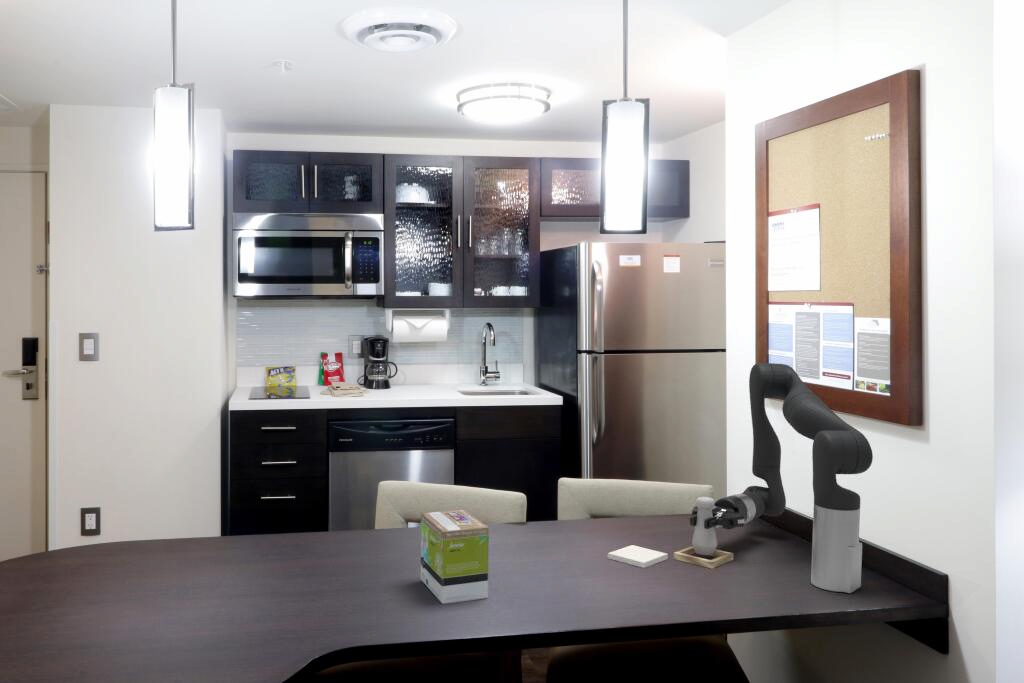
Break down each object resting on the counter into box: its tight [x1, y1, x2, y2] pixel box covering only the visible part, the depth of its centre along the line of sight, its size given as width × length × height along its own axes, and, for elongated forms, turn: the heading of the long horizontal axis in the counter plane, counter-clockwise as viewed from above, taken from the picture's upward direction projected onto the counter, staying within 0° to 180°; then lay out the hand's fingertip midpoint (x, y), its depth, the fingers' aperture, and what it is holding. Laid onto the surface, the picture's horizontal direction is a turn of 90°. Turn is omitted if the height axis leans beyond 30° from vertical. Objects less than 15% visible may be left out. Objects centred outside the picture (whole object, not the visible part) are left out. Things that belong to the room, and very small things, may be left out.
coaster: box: [607, 544, 669, 569], centre depth 191 cm, size 10×10×1 cm
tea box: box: [420, 509, 490, 605], centre depth 166 cm, size 15×10×15 cm, turn 23°
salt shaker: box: [691, 496, 718, 556], centre depth 191 cm, size 6×6×13 cm
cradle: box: [673, 545, 734, 570], centre depth 191 cm, size 10×10×2 cm
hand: (698, 522), depth 189 cm, fingers closed on salt shaker, 3 cm apart
